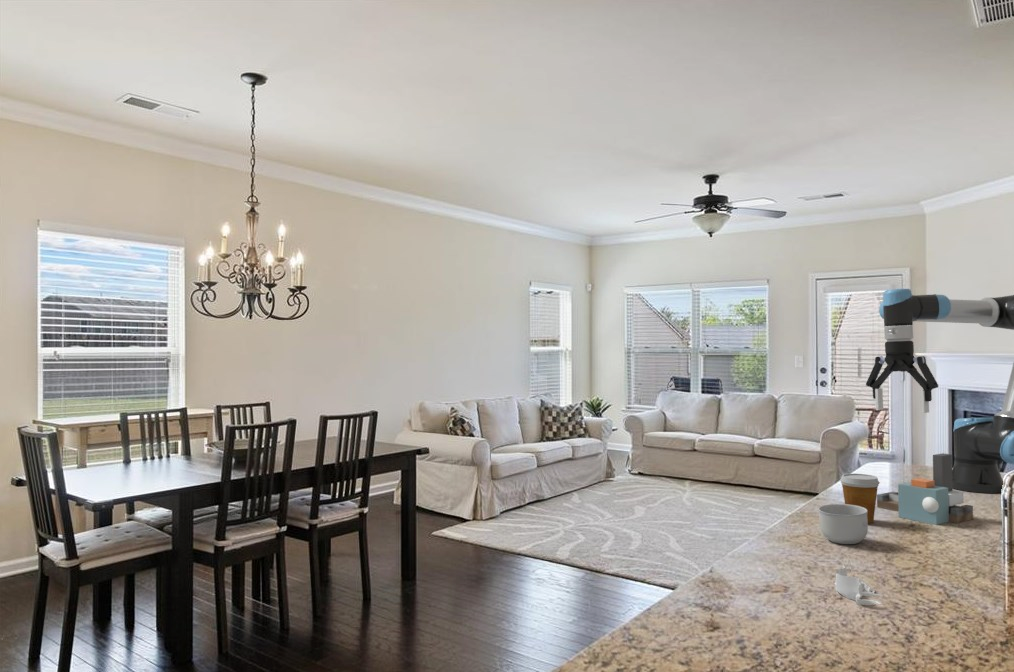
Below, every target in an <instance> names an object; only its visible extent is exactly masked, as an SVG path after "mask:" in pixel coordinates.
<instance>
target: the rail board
mask: <svg viewBox="0 0 1014 672" xmlns="http://www.w3.org/2000/svg"><path fill="white" fill-rule="evenodd" d="M876 508H880V509H886V510H890V511H895V512H899V502H898V491H897V492H896V491H888V492H884V493H880V494H879V493H877V496H876ZM971 519H972V520H974V506H973V505H971V504H963V505H953V506H949V522H950V523H953V522H954V524H960V523H965V522H968V521H971ZM967 520H968V521H967ZM949 522H948V523H949Z"/></svg>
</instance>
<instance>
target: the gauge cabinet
mask: <svg viewBox="0 0 1014 672" xmlns="http://www.w3.org/2000/svg"><path fill="white" fill-rule="evenodd" d="M897 492H898V502H899V511H898V518H902V519H907V520H910V521H916V522H920V523H921V522H922V523H926V524H931V525H936V526H938V525H941V524H945V523H949V503H948V488H946V487H939V486H935V487H931V488H921V487H915V486H911V481H908V482H903V483H898V485H897Z"/></svg>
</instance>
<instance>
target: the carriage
mask: <svg viewBox="0 0 1014 672" xmlns="http://www.w3.org/2000/svg"><path fill="white" fill-rule="evenodd" d="M952 469H953V454H952V453H951V454H950V453H945V452H943V453H936V454H932V477H933V478H932V480H934V484H935V486H939V487H946V488H948V503H949V506H953V505H957V506H959V505H962V504H964V503H965V500H964V498H965V496H964V491H961V490H954V488H952Z"/></svg>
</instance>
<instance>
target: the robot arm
mask: <svg viewBox="0 0 1014 672" xmlns="http://www.w3.org/2000/svg"><path fill="white" fill-rule="evenodd" d="M878 312H879V316H880V317H881V318H882V319H883V325H884V326H883V328H884V332H883V333H884V340H886V341H885V343H884V352H885V357H884V356H882V355H881V356H875V359H874V365H873V367H872V369H871V371H870V374H869V375H868V378H867V381H866V383H865V386H866V387H870V388H871V389H872V398H873V400H875V410H876V411H883V410H884V397H883V396H884V395H883V393H884V392H883V388H882V387H881V386H882V385H883V383H884V382H885V381H886V380H887V379H888V378H889V376H891V374H892V373H893V372H900V373H903V372H907V373H908V374H909V375H910V376H911V377H912V378H913V379H914V380H915V381H916V382H917V383H918V385H919V386H920V387H921V388H922V390H920V400H921V401H920V404H921V405H920V406H921V414H927V413H930V402H932V399H933V397H932V396H933V395H932V390H934V389H937V388H939V384H938V382H937V380H936V378H935V376H934V375H933V373H932V371H931V370H930V368H929V366H928V364H927V361H926V357H925V356H923V355H921V356H920V355H919V356H916V357H915V356H914V353H915V351H914V349H915V348H914V345H915V344H914V341H913V339H914V328H913V324H914V323H913V322H919V323H920V322H922V323H923V322H924V323H951V324H954V323H955V324H957V323H958V324H979V325H980V326H981V327H985V328H998V329H1006V330H1010V331H1011V330H1012V331H1014V294H1012V295H1005V296H999V297H983V298H981V299H979V300H977V299H951V298H949V297H948V296H947V295H945V294H936V293H935V294H920V295H917V294H916V295H915V294H912V290H911V289H910V288H894V289H893V288H892V289H891V288H890V289H886V290H884V292H883V293H882V302H880V305H879V308H878ZM915 363H916V365H917V367H918V368H919V369H920V371H921V373H922V374H921V373H920V372H919V370H918V369H917V368H916V366H914V364H915ZM884 364H887V365H886V366H885V368H884V369H883V371H882V372H881V370H882V368H883V365H884ZM880 372H881V373H880ZM879 374H880V375H879ZM953 423H954V425H953V448H954V450H953V451H954V453H953V454H954V464H953V465H952V488H953V490H954V489H955V490H957V491H962V492H971V493H972V492H973V493H983V494H985V493H986V494H987V493H989V494H995V493H1002V492H1001V489H1002V485H1003V482H1004V480H1003V477H1002V475H1001V473H1000V470H999V467H998V462H1003V463H1006V464H1011V465H1014V362H1013V364H1012V368H1011V373H1010V376H1009V380H1008V384H1007V387H1006V391H1005V395H1004V401H1003V404H1002V407H1001V410H1000V411H999V412H997V413H996V414H994V415H993V417H970V418H969V417H966V418H965V417H964V418H961V417H960V418H957V419H955V420H954V422H953Z"/></svg>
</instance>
